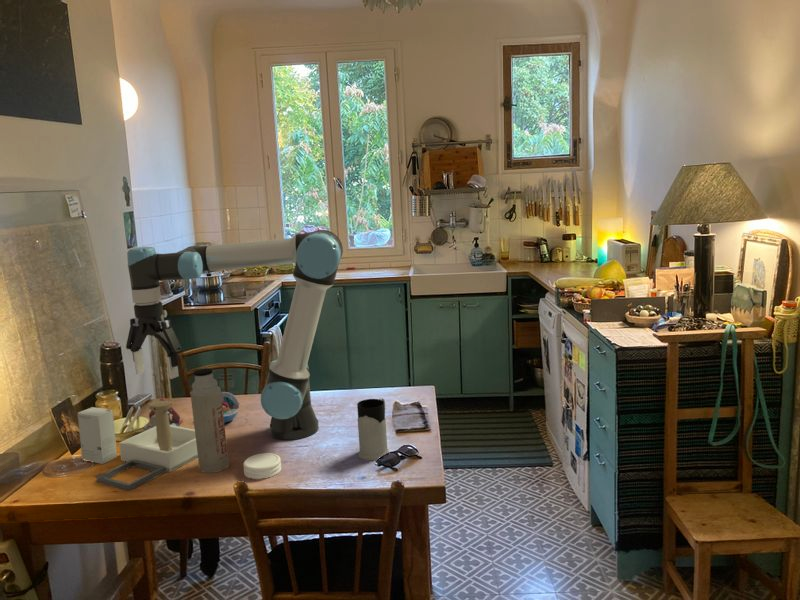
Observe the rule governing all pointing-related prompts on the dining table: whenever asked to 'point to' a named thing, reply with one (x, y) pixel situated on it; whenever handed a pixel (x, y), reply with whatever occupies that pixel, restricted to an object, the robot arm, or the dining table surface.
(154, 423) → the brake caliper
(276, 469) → the coaster
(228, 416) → the cell model
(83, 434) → the skincare box
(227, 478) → the dining table surface
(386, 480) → the dining table surface
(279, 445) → the dining table surface
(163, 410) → the handle
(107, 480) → the rectangular frame
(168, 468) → the parts bin
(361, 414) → the white and black cylinder
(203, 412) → the thermos bottle
